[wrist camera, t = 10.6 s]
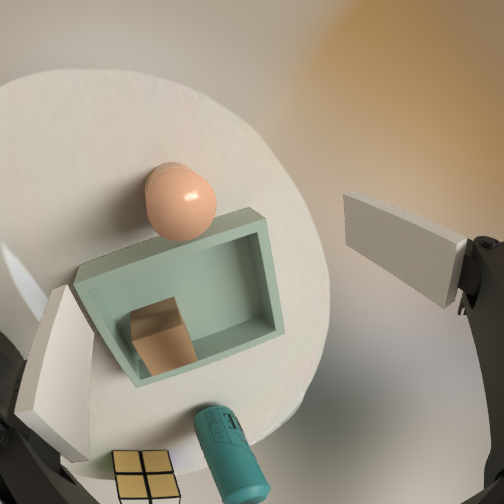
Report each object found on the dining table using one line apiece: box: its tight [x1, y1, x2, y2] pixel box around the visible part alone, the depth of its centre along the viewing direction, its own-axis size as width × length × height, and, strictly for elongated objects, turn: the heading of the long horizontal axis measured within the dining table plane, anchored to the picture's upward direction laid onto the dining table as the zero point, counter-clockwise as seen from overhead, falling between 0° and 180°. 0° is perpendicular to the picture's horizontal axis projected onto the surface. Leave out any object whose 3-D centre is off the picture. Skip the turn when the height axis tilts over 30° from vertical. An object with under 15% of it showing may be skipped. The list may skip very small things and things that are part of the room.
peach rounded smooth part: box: [145, 162, 216, 241], centre depth 23 cm, size 5×5×7 cm
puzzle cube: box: [112, 450, 181, 504], centre depth 36 cm, size 10×10×10 cm
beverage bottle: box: [193, 406, 270, 504], centre depth 31 cm, size 6×7×20 cm
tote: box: [73, 207, 285, 388], centre depth 29 cm, size 18×14×4 cm
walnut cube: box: [130, 297, 198, 376], centre depth 28 cm, size 5×5×5 cm
